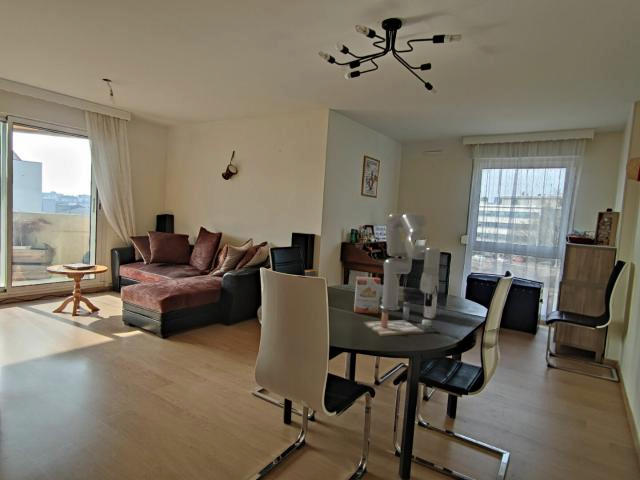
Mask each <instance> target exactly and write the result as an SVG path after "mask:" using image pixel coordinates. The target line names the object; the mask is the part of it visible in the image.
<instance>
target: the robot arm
mask: <svg viewBox="0 0 640 480" xmlns="http://www.w3.org/2000/svg"><path fill="white" fill-rule="evenodd" d="M385 223H386V230H387V232H386V233H387V243H386V254H387V255H388V256H390V257H401V258H390V257H389V258H387V259H385V260H384V262H383V274H384V275H383V289H382V299H381V300H380V301H381V304H380V303H379V308H380V309H382V307H387V308H389V311H399V310H400V308H401V307H400V306H399V305H398V302H399V292H400V291H399V290H400V279H399V277H398V276H397V275H399V274H400V275H402V274H403V275H405V274H406V275H407V274H409V273H410V272H411V270H412V264H413V260H424V261H423V272H422V274H421V278H420V283H419V284H420V285H419V290H420V291H421V293H422V294H423V295H424V301H425V302H424V303H425V306H427V307H431V306H432V299H433V297H436V294H437V295H438V294H439V289H440V286H439V285H440V282H439V281H440V279H439V278H440V277H439V271H440V262H441V261H440V260H441V249H440V248H439V247H434V246H433V245H421V244H415V243H414V241H416V240H419V239H420V238H421V237H422V236H423V233H424V231H423V228H424V227H426V225H427V218H426V216H425V215H424V214H423V213H416V212H415V213H414V212H408V213H390V214H389V215H388V216H387V218H386V221H385ZM399 228H401V229H403V230H405V233H406V235H407V236H406V238H405V241H402V232H401V230H400V229H399Z"/></svg>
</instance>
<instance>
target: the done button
mask: <svg viewBox="0 0 640 480" xmlns="http://www.w3.org/2000/svg"><path fill="white" fill-rule="evenodd" d="M421 323H422V326H424V327H431V325H432V320H431V319H427V318H426V319H422V320H421Z"/></svg>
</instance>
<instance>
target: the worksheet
mask: <svg viewBox="0 0 640 480" xmlns="http://www.w3.org/2000/svg"><path fill="white" fill-rule="evenodd" d="M381 321H382V320H381ZM381 321H380V320H378V321H377V320H376V321H364V322H363V325H365V326H366V327H367V328H368V329H370V330H371V329H372V330H371V331H372V332H374V331H375V333H376V334H377V335H379V336H380V337H385V336H387V337H388V336H402V335H417V334H418V335H420V334H425V332H424V331H423V330H421V329H419V328H417V325H413V324H412V323H410V322H408V321H405V320H403V319H401V320H388V326H387V328H382V327H381Z"/></svg>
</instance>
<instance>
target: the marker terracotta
mask: <svg viewBox="0 0 640 480" xmlns="http://www.w3.org/2000/svg"><path fill="white" fill-rule="evenodd" d="M389 312H390V310H389V308H387V307H382V308H381V327H382V328H387V326H388V321H389Z"/></svg>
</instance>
